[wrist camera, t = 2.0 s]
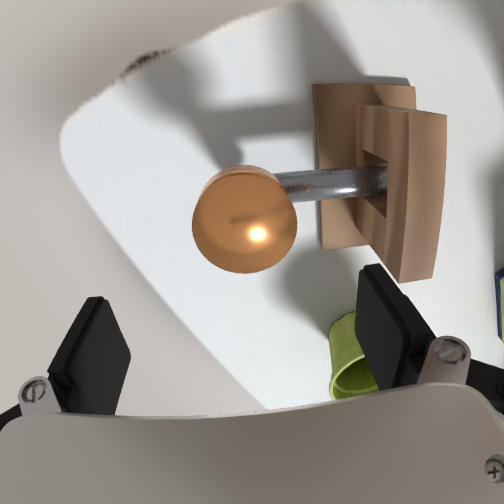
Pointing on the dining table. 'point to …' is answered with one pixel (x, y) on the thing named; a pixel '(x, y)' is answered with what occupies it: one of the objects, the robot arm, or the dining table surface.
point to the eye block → (399, 173)
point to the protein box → (500, 302)
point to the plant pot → (348, 362)
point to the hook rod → (268, 210)
